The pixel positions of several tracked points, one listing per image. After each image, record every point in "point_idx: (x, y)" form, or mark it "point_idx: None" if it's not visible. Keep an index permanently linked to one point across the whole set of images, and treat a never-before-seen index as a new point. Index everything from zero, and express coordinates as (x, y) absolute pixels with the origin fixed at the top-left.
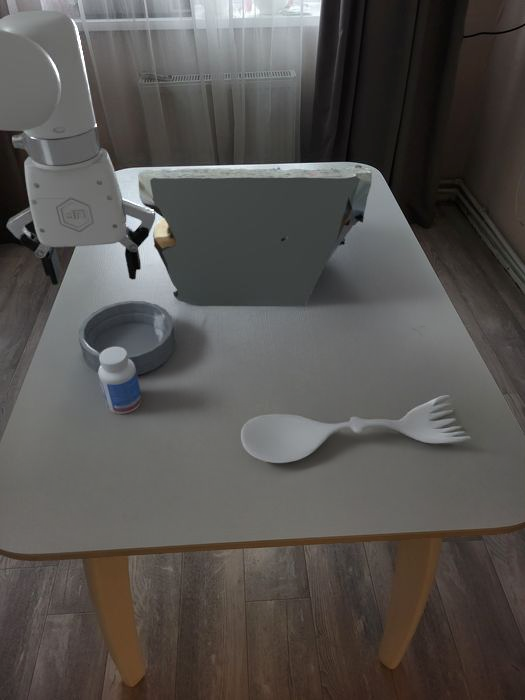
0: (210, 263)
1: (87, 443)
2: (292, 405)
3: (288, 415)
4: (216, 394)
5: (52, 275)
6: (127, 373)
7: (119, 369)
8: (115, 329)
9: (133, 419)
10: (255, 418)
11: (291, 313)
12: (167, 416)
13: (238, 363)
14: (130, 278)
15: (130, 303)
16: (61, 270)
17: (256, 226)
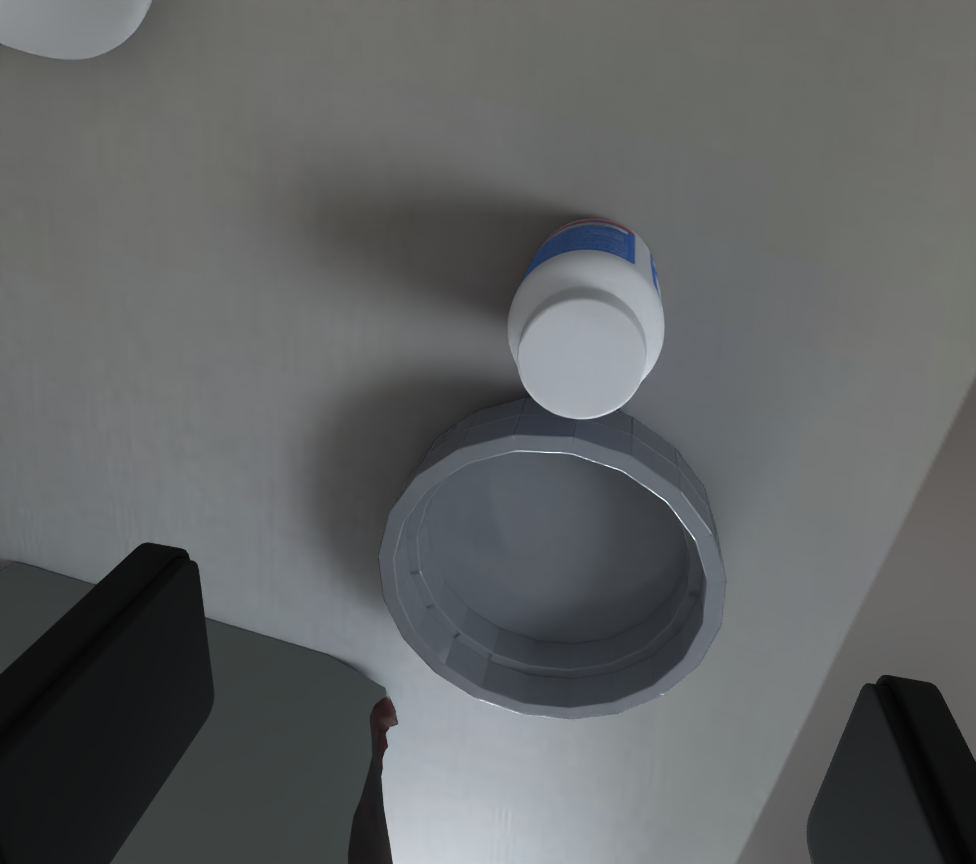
0: (196, 772)
1: (751, 93)
2: (28, 128)
3: (6, 39)
4: (276, 243)
5: (947, 771)
6: (536, 283)
7: (563, 290)
8: (596, 627)
9: (567, 185)
10: (111, 39)
11: (55, 544)
12: (445, 172)
13: (207, 372)
14: (184, 558)
15: (523, 702)
16: (808, 840)
17: None
